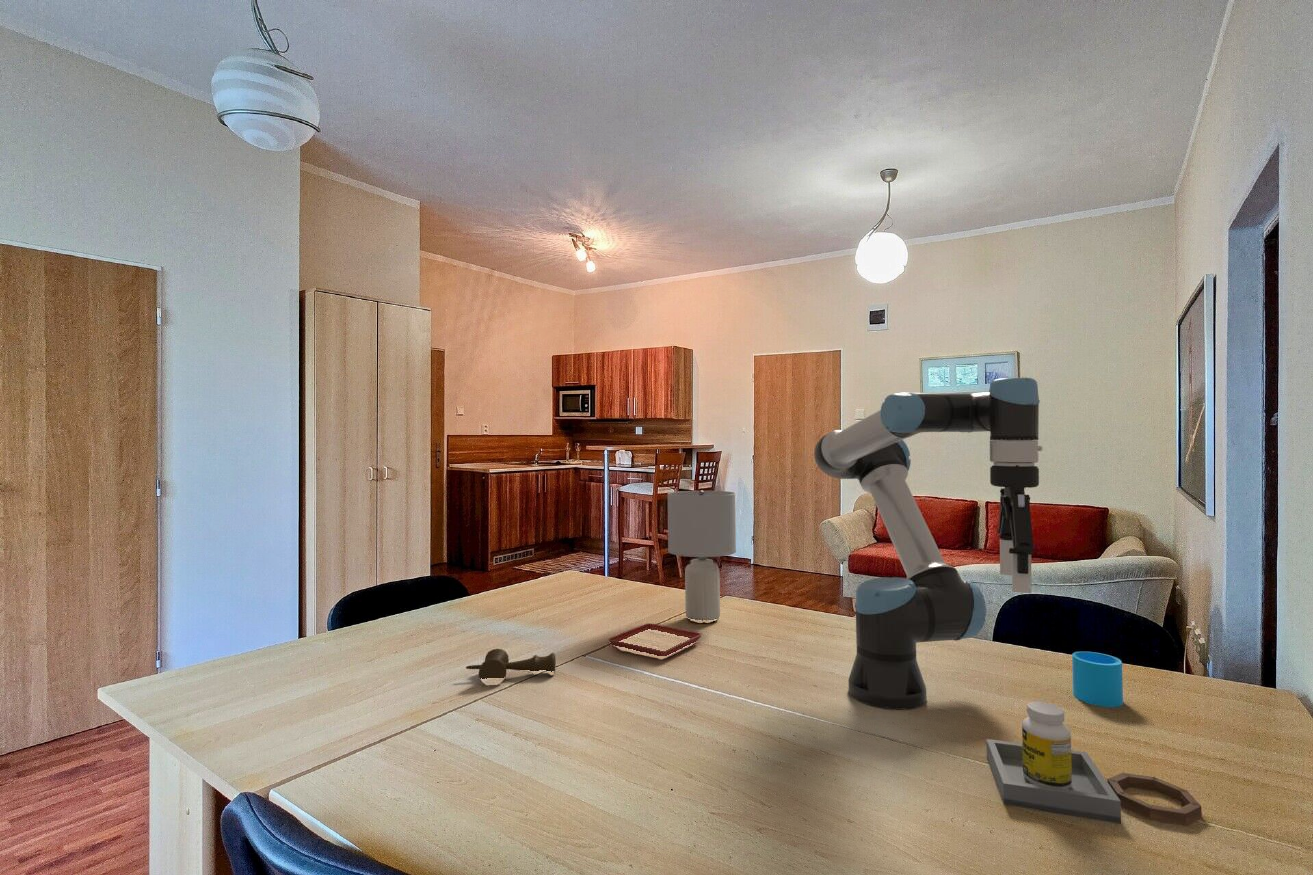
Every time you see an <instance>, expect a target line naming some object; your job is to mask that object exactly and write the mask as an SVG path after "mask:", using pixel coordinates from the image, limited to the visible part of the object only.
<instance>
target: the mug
mask: <svg viewBox="0 0 1313 875" xmlns="http://www.w3.org/2000/svg"><path fill="white" fill-rule="evenodd" d="M1071 659H1072V660H1071V661H1072V665H1071V666H1072V667H1071V668H1072V694H1073V697H1074V698H1075V699H1077V700H1079V701H1081V702H1083V703H1086V704H1089V705H1093V706H1097V707H1105V708H1119V707H1122V706H1123V704H1124V694H1123V693H1124V692H1123V691H1124V690H1123V662H1122V660H1121V659H1120V658H1118V657H1116V656H1112V655H1109V654H1105V653H1100V652H1093V651H1075V652H1073V653H1072V655H1071Z"/></svg>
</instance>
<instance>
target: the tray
mask: <svg viewBox="0 0 1313 875" xmlns="http://www.w3.org/2000/svg"><path fill="white" fill-rule="evenodd" d="M985 742H986V743H985V744H986V759H987V762H988V765H989V768H990V770H991V772H992V776H993V779H994V781H995V783H996V787H997V790H998V793H999V794H1000V798H1001V799H1002V800H1001V801H1002V803H1003V805H1005V806H1012V807H1019V808H1024V809H1029V810H1030V809H1031V810H1036V811H1042V812H1049V813H1055V814H1061V815H1066V816H1073V817H1080V818H1086V819H1091V820H1098V821H1101V822H1102V821H1104V822H1109V823H1115V824H1121V825H1122V806H1121V801H1120V800H1119V798H1118V797H1117V795H1116V794H1115V792H1114V791H1113V790H1112V788H1111V787H1110V785H1109V784H1108V782H1107V779H1106V778H1105V776H1104V775H1103V774H1102V772H1101V771H1100V770H1099V768H1098V767H1097V765H1096V764H1095V763H1094V760H1093V759H1092V758H1091V757H1090V755H1089V753H1088V752H1086V751H1079V750H1073V749H1071V766H1072V785H1071V788H1070V789H1069V790H1067V789H1061V788H1054V787H1047V786H1041V785H1034V784H1032V783H1030V782H1029V781H1028V780H1027V779H1026V778H1025V777H1024V774H1023V750H1022V749H1023V748H1022V746H1023V745H1022V743H1019V742H1011V741H1004V740H998V739H997V740H996V739H990V738H986V740H985Z"/></svg>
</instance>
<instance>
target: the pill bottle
mask: <svg viewBox="0 0 1313 875" xmlns="http://www.w3.org/2000/svg"><path fill="white" fill-rule="evenodd" d="M1026 712H1027V715H1028V716H1027V717H1025V718H1024V719H1023V720H1022V723H1021V724H1022V725H1021V732H1022V733H1021V735H1022V736H1021V737H1022V738H1021V739H1022V740H1021V742H1022V743H1021V744H1022V745H1023V746H1022V748H1023V749H1022V750H1023V774H1024V777H1025V778H1026V779H1027V780H1028V781H1029V782H1030V783H1032V784H1034V785H1041V786H1047V787H1054V788H1061V789H1067V790H1069V789H1070V788H1071V785H1072V766H1071V750H1072V736H1071V734H1072V733H1071V730H1070V729H1069V727H1068V726H1067V724H1065V723H1064V722H1065V710H1064V709H1063V708H1061V707H1060V706H1058V705H1055V704H1053V703H1049V702H1044V701H1030V702H1028V703H1027V709H1026Z"/></svg>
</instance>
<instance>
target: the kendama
mask: <svg viewBox="0 0 1313 875" xmlns="http://www.w3.org/2000/svg"><path fill="white" fill-rule="evenodd" d="M556 663H557V661H556V654H555V653H554V652H552V653H551V652H550V654H548V655H546V656H540V655H539V656H538V655H537V654H534V655H533V656H532V657H529V658H527V659H523V660H517V661H510V658H509V655H508V653H507V651H506V650H504V649H502V648H494V649H491V650H490V651H488V652H487V653H486V655H485V658H484V661H482V663H481V664H472V665H467V666H465V669H467V670H478V679H479V678H480V679H481V678H482V679H485V678H486V679H487V678H504V677H505V678H507V670H509V669H510V670H512V671H520V670H530V671H539V670H546V671H551V672H552V671H555V672H556V665H557V664H556ZM480 679H479V680H480Z"/></svg>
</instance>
